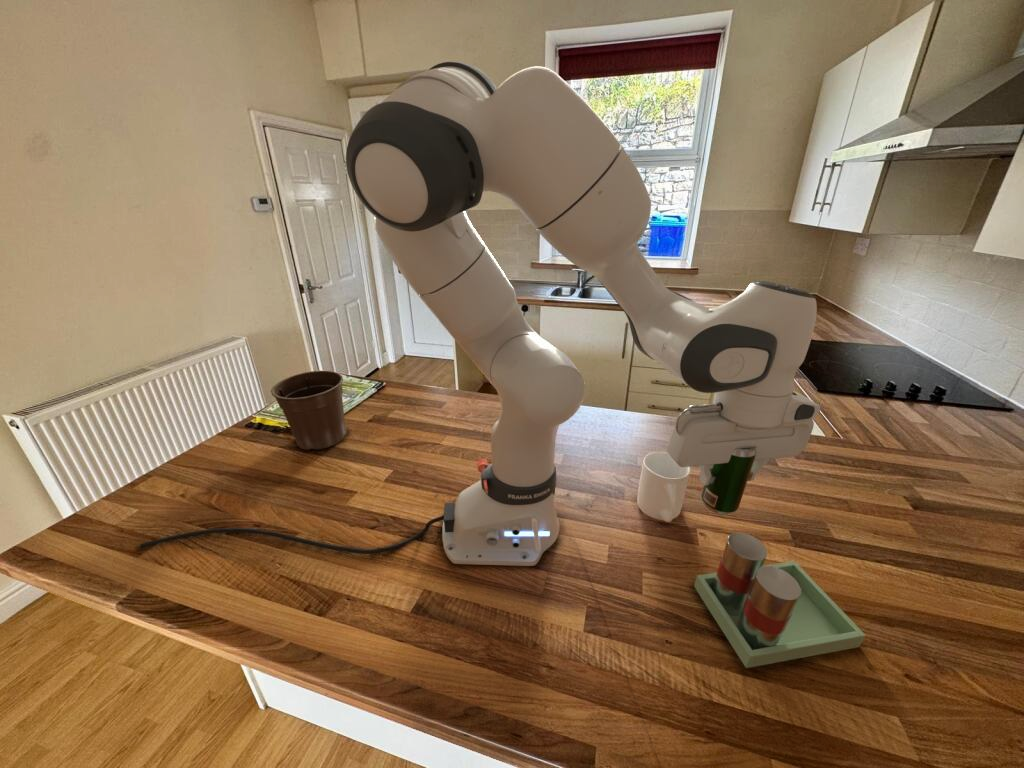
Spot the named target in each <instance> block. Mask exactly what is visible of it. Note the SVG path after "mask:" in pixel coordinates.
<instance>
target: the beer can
mask: <svg viewBox="0 0 1024 768" xmlns="http://www.w3.org/2000/svg"><path fill="white" fill-rule="evenodd" d="M756 447H757V446H756ZM756 447H754V448H752V449H750V447H746V448H741V449H738V448H735V451H734V452H733V453H732V454H731V458H730V461H729V462H728V463H722V464H714V465H713V468H712V469H709V470H710V471H711V472H712V473H713V474H714V475H715V476H716V480H715V481H714V482H715V483H714V484H713V485H706V486H704V485H703V487H702V492H701V495H700V496H701V500H702V503H703V505H704V506H705V507H706V508H707V509H708V510H709V511H711V512H713V513H715V514H717V515H718V514H719V515H724V516H728V515H732V514H734V513H736V511H738V509H739V507H740V504H741V502H742V499H743V495H744V493H745V489H746V488H747V487H746V486H747V484H748V482H749V481H748V478H749V475H750V472H751V468H752V465H753V462H754V459H755V456H756V453H757V452H756Z"/></svg>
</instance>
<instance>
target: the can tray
mask: <svg viewBox="0 0 1024 768" xmlns="http://www.w3.org/2000/svg"><path fill="white" fill-rule="evenodd" d="M763 566H773V567H776V568H779V569H782V570H784V571H785V572H787V573H789V574H790V575H791V576H792V577H793V578H794V579H795V580H796V581H797V582H798V584H799V586H800V588H801V595H800V597H799V599H798V601H797V603H796V606H795V608H794V610H793V612H792V615H791V618H790V620H789V622H788V624H787V626H786V628H785V630H784V632H783V634H782V636H781V638H780V640H779V642H778V645H777V646H772V647H766V648H761V649H755V650H752V649H751V648H750V646H749V645H748V643H747V642H746V640H745V639H744V637H743V636H742V634H741V633H740V631H739V630H738V628H737V627H736V626H737V623H738V621H739V618H740V616H732V615H728V613H727V612H726V610H725V609H724V608H723V606H722V605H721V603H720V602H719V600H718V599H717V597H716V596H715V594H714V593H713V591H712V588H713V585H714V581H715V578H716V575H717V572H712V573H704V574H698V575H696V578H695V582H694V584H693V585H694V589H695V590H696V592H697V593H698V595H699V596H700V598H701V600H702V601H703V603H704V604H705V606H706V608H707V609H708V611H709V612H710V614H711V615H712V617H713V619H714V620H715V622H716V623H717V625H718V626H719V628H720V630H721V631H722V632H723V634H724V636H725V637H726V639H727V641H728V642H729V644H730V645H731V647H732V648H733V650H734V651H735V653H736V655H737V657H738V658H739V659H740V661H741V663H742V664H743V666H744V668H746V669H749V668H754V667H759V666H764V665H770V664H775V663H781V662H787V661H792V660H797V659H802V658H807V657H812V656H818V655H823V654H829V653H834V652H839V651H845V650H850V649H856V648H859V647H860V646H861V645H862V643H863V641H864V639H865V638H866V636H867V635H866V634H865V633H864V632H863V631H862V630H861V629H860V627H858V625H857V624H856V623H854V621H853V620H852V619H851V618H850V617H849V616H848V615H847V614H846V613H845V612H844V611H843V610H842V609H841V608H840V606H838V605H837V603H836V602H835V601H833V599H832V598H831V597H830V596H829V595H828V594H827V593H826V592H825V591H824V590H823V589H822V588H821V586H820V585H819V584H818V583H816V582H815V581H814V579H812V577H811V576H810V575H809V574H808V573H807V572H806V571H805V570H804V569H803V568H802V566H800V565H799V563H797V562H796V560H790V561H785V562H784V561H783V562H777V563H770V564H765V565H764V564H763ZM763 566H762V567H763Z"/></svg>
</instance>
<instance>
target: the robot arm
mask: <svg viewBox="0 0 1024 768" xmlns="http://www.w3.org/2000/svg"><path fill="white" fill-rule="evenodd" d="M345 165H346V171H347V175H348V179H349V181H350V184H351V186H352V189H353V191H354V193H355V194H356V197H358V199H359V201H360V202H361V204H362V205H363V206H364V208H365V209H366V210H368V211H369V212H370V213H371V214H372V215H373V216H374V227H375V232H376V233H377V236H378V238H379V239H380V242H381V243H382V245H383V247H384V249H385V250H386V252H387V254H388V256H389V258H390V259H391V260H392V262H393V264H394V265H395V266H396V268H397V269H398V271H399V272H400V274H401V275H402V276H403V278H404V279H405V280H406V283H408V285H409V286H410V287H411V288H412V290H413V291H414V292H415V294H416V295H417V296H418V297H419V299H420V300H421V301H422V302H423V303H424V304H425V306H426V307H427V308H428V309H429V310H430V312H431V313H432V314H433V315H434V316H435V318H436V319H437V320H438V321H439V323H440V324H441V325H442V327H444V328H445V330H446V331H447V332H448V334H450V336H451V337H452V338H453V339H454V341H455V342H456V343H457V345H458V346H459V347H460V349H462V350H463V351H464V353H465V354H466V356H467V357H468V358H469V359H470V361H472V363H473V364H475V366H476V368H477V369H478V370H479V372H481V373H482V375H483V376H484V377H485V379H486V380H488V382H489V383H490V384H491V386H492V387H493V388H494V389H495V391H496V392H497V396H498V399H499V403H500V413H499V418H498V420H496V422H494V424H493V426H492V427H491V430H490V446H491V447H490V448H491V463H490V464H489V463H488V460H487V459H486V458H479V459H478V461H476V467H477V471H478V472H479V473H480V479H479V480H478V481H476V482H475V483H473V484H472V485H470V486H469V487H467V488H465V489H463V490H462V491H461V492H460V493H459V494H458V496H457V498H456V500H455V501H452V502H444V508H443V515H441V516H437V517H435V518H433V519H430V520H429V521H427V522H426V524H425V526H424V528H423V529H421V531H419V532H418V533H416V534H415V535H413V536H412V537H409V538H408V539H406V540H404V541H401V542H397V543H395V544H391V545H388V546H387V545H386V546H383V547H378V548H368V549H366V548H357V547H350V546H342V545H336V544H330V543H324V542H319V541H317V540H316V541H315V540H311V539H306V538H303V537H298V536H294V535H290V534H286V533H283V532H277V531H271V530H264V529H257V528H247V527H224V528H223V527H222V528H211V529H210V528H209V529H202V530H196V531H195V530H194V531H190V532H184V533H179V534H175V535H171V536H170V535H169V536H167V537H163V538H159V539H155V540H149V541H147V542H141V543H140V545H139V548H141V549H142V548H145V547H150V546H154V545H158V544H162V543H165V542H170V541H174V540H178V539H182V538H188V537H194V536H195V537H196V536H200V535H209V534H219V533H247V534H257V535H264V536H269V537H274V538H275V537H276V538H280V539H284V540H287V541H292V542H297V543H299V544H300V543H301V544H305V545H310V546H314V547H318V548H323V549H327V550H334V551H341V552H348V553H353V554H363V555H373V554H379V553H385V552H389V551H393V550H396V549H399V548H401V547H403V546H405V545H407V544H409V543H410V542H412V541H415V540H416V539H418V538H420V537H422V536H423V535H424V534H426V533H427V532H428V531H429V529H430V527H431V525H433V524H435V523H438V522H441V521H443V522H442V528H441V529H442V530H441V531H442V532H441V535H442V536H441V537H442V546H443V551H444V553H445V555H446V557H447V558H448V560H449V561H450V562H451V563H452V564H454V565H476V566H477V565H478V566H510V567H511V566H513V567H514V566H515V567H533V566H536V565H537V564H538V563H539V561H540V560H541V558H542V555H543V553H544V552H545V551H546V550H548V549H549V548H550V547H552V546H553V545H554V544H555V542H556V541H557V539H558V537H559V534H560V529H561V528H560V521H559V518H558V515H557V511H556V506H555V504H556V503H555V494H556V487H557V478H558V477H557V468H556V466H555V453H556V442H557V441H556V438H557V433H558V430H559V427H560V425H562V424H564V423H566V422H567V421H569V420H570V419H572V418H573V417H574V415H575V414H576V413H577V412H578V411H579V409H580V408H581V406H582V405H583V402H584V398H585V396H586V382H585V380H584V377H583V375H582V374H581V372H580V371H579V369H578V368H577V367H576V365H575V364H574V362H573V361H572V360H571V359H570V357H569V356H568V355H567V354H566V353H564V352H563V351H562V350H560V348H557V347H555V346H554V345H553V344H551V343H550V342H549V341H547V340H546V339H544V338H543V337H542V336H541V335H539V333H538V332H537V331H535V330H534V329H533V328H532V327H531V325H530V324H529V323H528V321H527V319H526V317H525V316H524V314H523V312H522V310H521V307H520V305H519V302H518V300H517V293H516V290H515V288H514V286H513V285H512V284H511V282H510V280H509V279H508V277H507V276H506V274H505V272H504V271H503V270H502V268H501V267H500V265H499V264H498V262H497V260H496V259H495V258H494V255H493V254H492V253H491V251H490V250H489V248H488V247H487V245H486V244H485V242H484V240H483V239H482V238H481V236H480V235H479V233H478V232H477V230H476V228H474V226H473V224H472V222H471V220H470V219H469V217H468V214H467V212H466V211H468V210H471V209H472V208H474V207H477V206H478V205H479V204H480V203H481V200H482V198H483V197H482V196H483V192H493V193H497V194H499V195H501V196H503V197H505V198H506V199H507V200H509V201H510V202H511V203H512V204H513V205H514V206H515V207H516V208H517V209H518V210H519V212H521V214H522V215H523V217H525V219H527V221H528V222H529V223H530V224H531V225H532V226H533V228H534V229H535V231H537V232H538V233H539V234H540V236H541V237H542V238H543V239H544V240H545V241H546V242H547V243H548V244H549V245H550V246H551V247H552V248H554V249H555V250H556V251H557V253H559V254H560V255H562V257H564V258H565V259H566V260H568V262H571V263H572V264H573V265H575V266H576V267H578V269H580V270H582V271H584V272H587V273H589V274H591V276H593V277H595V278H596V279H597V280H598V282H599V283H600V284H601V286H602V287H603V288H604V289H605V290H606V291H607V293H609V295H610V296H611V297H612V299H613V300H614V301H615V302H616V303H617V305H618V306H619V308H621V310H622V311H623V312H624V314H625V316H626V318H627V321H628V324H629V328H630V333H631V337H632V339H633V340H632V341H633V342H634V344H635V346H636V348H637V349H638V350H639V351H640V352H641V353H642V354H643V355H645V356H646V357H648V358H650V359H651V360H653V361H655V362H656V363H657V364H658V365H660V366H661V367H662V368H664V369H665V370H666V371H667V372H668V373H670V374H671V375H673V376H674V377H675V378H676V379H677V380H679V381H680V382H681V383H683V384H684V385H686V386H687V387H689V388H690V389H692V390H694V391H697V392H699V393H705V394H714V396H713V400H712V403H705V404H692V405H689V406H688V407H687V408H685V409H684V410H682V411H681V412H679V413H678V414H677V417H676V420H675V424H674V427H673V429H672V432H671V434H670V437H669V440H668V443H667V446H666V451H667V453H669V455H670V456H671V458H672V459H673V460H674V461H675V462H676V463H677V464H678V465H679V466H680V467H690V468H691V467H698V468H699V475H698V481H699V482H700V483H701V484H702V486H703V487H704V486H706V485H713V484H714V483H715V482H714V481H715V480H716V476H715V475H714V474H713V473H712V472H711V471H710V470H709V469H712V468H713V465H714V464H722V463H728V462H729V461H730V458H731V454H732V453H733V452H734V451H735V448H738V449H741V448H746V447H750V449H752V448H754V447H756V446H757V447H756V452H757V453H756V456H755V459H754V462H753V465H752V468H751V472H750V475H749V478H748V481H747V482H751V481H752V482H753V481H754V480H755V477H756V474H757V473H758V472H759V471H760V470H761V469H762V468H764V467H765V465H767V464H768V460H771V459H782V458H793V457H797V456H799V455H800V454H801V453H803V452H804V451H805V449H806V447H807V446H808V444H809V441H810V438H811V435H812V433H813V429H814V419H817V417H818V416H819V414H820V411H821V406H820V405H819V404H817V403H816V402H815V401H813V400H812V399H810V398H808V397H807V396H805V395H803V394H802V393H800V392H798V391H795V377H796V373H797V371H798V370H799V368H800V367H801V366H802V364H803V363H804V361H805V359H806V356H807V353H808V350H809V348H810V344H811V341H812V338H813V334H814V330H815V326H816V321H817V312H818V311H817V310H818V306H817V305H818V304H817V300H816V297H814V296H813V295H812V294H811V293H810V292H808V291H806V290H803V289H799V288H795V287H793V286H788V285H783V284H780V283H776V282H770V281H765V280H763V281H760V280H759V281H754V282H751V283H749V285H748V286H747V287H746V289H745V290H744V291H743V292H742V293H741V294H739V295H737V296H736V297H735V298H733V299H731V300H729V301H728V302H725V303H723V304H720V305H718V306H715V307H711V308H709V307H707V306H705V305H703V304H700V303H698V302H695V301H694V300H692V299H691V298H688V297H686V296H685V295H683V294H681V293H679V292H676V291H673V290H671V289H669V288H667V287H666V286H665V284H664V283H663V282H662V280H661V279H660V277H659V276H658V274H657V273H656V272H655V271H654V269H653V267H652V266H651V265H650V263H649V261H648V260H647V259H646V257H645V256H644V254H643V253H642V251H641V250H640V247H639V244H638V243H639V241H640V240H641V239H642V237H643V235H644V234H645V231H646V229H647V227H648V224H649V222H650V221H649V220H650V217H651V213H652V212H651V211H652V199H651V197H650V194H649V192H648V189H647V187H646V184H645V182H644V180H643V178H642V176H641V173H640V172H639V170H638V168H637V166H636V165H635V162H634V161H633V160H632V158H631V157H630V155H629V154H628V152H627V151H626V150H625V149H624V147H623V146H622V144H621V143H620V141H619V140H618V139H617V137H616V136H615V134H614V133H613V132H612V130H611V129H610V128H609V126H608V125H607V124H606V123H605V121H604V120H603V119H602V118H601V117H600V115H599V114H598V113H597V112H596V111H595V109H593V108H592V107H591V105H590V104H589V103H588V102H587V101H586V100H585V98H583V97H582V95H580V94H579V93H578V92H577V91H576V90H575V89H574V87H573V86H572V85H570V84H569V83H568V82H567V81H566V80H564V78H562V77H561V76H560V75H559V74H558V73H557V72H555V71H554V70H553V69H550V68H548V67H546V66H539V65H535V66H528V67H526V68H523V69H521V70H519V71H517V72H515V73H513V74H511V75H510V76H509V77H507V78H506V79H505V80H504V81H503V82H501V83H500V85H499V86H498V87H497V86H496V85H495V83H494V82H493V80H492V79H491V78H490V77H489V76H488V75H487V74H486V73H485V72H484V71H482V70H481V69H479V68H478V67H476V66H475V65H472V64H468V63H466V62H461V61H443V62H439V63H437V64H435V65H433V66H431V67H430V68H428V70H425V71H422V72H419V73H417V74H414V75H412V76H411V77H408V78H407V79H405V80H404V81H402V82H401V83H400V84H399V85H397V87H396V88H395V89H394V90H393V92H392V93H391V94H389V95H388V96H387V97H386V98H384V99H383V101H381V102H380V103H378V104H375V105H373V106H372V107H371V108H369V109H368V110H367V111H366V112H365V113H364V114H363V115H362V117H361V119H359V121H358V122H357V124H356V125H355V126H354V128H353V130H352V132H351V135H350V137H349V140H348V142H347V146H346V150H345Z"/></svg>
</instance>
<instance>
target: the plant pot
mask: <svg viewBox="0 0 1024 768" xmlns="http://www.w3.org/2000/svg"><path fill="white" fill-rule="evenodd" d="M343 382H344V376H343V375H342V374H341V373H339V372H337V371H335V370H311V371H306V372H301V373H297V374H294V375H291V376H288V377H286V378H284V379H281V380H280V381H278V382H276V383H275V384H274V385H273V386H272V387H271V389H270V394H271V395H272V397H274V398H275V400H276V402H277V404H278V407H279V408H280V409H281V410H282V412H283V414H284V417H285V419H286V421H287V423H288V426H289V428H290V431H291V433H292V435H293V438H294V441H295V443H296V445H297V447H299V448H300V449H301V450H305V451H310V450H315V451H321V450H324V449H328V448H331V447H333V446H335V445H337V444H338V443H340V442H342V441H343V440H344V438H345V436H346V435H347V432H348V431H347V424H346V418H345V410H344V401H343V393H344V390H343Z"/></svg>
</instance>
